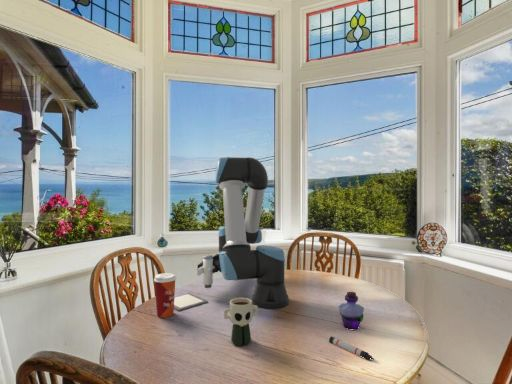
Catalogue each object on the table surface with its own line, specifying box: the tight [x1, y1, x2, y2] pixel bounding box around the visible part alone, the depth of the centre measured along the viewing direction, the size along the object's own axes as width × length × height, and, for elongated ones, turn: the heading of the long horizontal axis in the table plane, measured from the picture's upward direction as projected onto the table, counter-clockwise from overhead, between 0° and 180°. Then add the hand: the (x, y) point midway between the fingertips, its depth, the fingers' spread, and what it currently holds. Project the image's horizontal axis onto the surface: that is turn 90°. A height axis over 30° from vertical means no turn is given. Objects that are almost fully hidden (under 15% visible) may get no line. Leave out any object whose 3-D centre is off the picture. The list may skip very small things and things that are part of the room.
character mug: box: [223, 297, 259, 346], centre depth 106 cm, size 11×7×13 cm, turn 106°
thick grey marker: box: [202, 254, 214, 289], centre depth 146 cm, size 4×4×14 cm
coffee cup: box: [153, 272, 177, 319], centre depth 128 cm, size 8×8×15 cm
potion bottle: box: [338, 291, 365, 330], centre depth 117 cm, size 9×9×12 cm
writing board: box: [174, 292, 209, 312], centre depth 141 cm, size 14×14×1 cm
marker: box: [328, 336, 375, 361], centre depth 100 cm, size 15×2×2 cm, turn 38°
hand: (203, 272), depth 141 cm, fingers closed on thick grey marker, 4 cm apart
